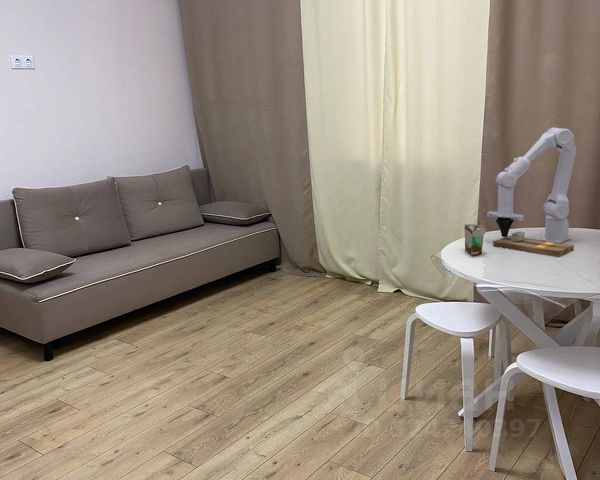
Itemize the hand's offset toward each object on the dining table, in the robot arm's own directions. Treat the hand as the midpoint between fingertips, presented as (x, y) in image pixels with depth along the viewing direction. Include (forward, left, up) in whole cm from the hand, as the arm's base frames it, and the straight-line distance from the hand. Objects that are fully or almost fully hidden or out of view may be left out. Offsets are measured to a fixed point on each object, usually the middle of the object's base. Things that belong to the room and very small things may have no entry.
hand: (504, 236), depth 235 cm
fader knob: (0, +6, -1) cm, 6 cm away
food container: (+18, -1, -3) cm, 18 cm away
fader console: (0, +12, -3) cm, 12 cm away
